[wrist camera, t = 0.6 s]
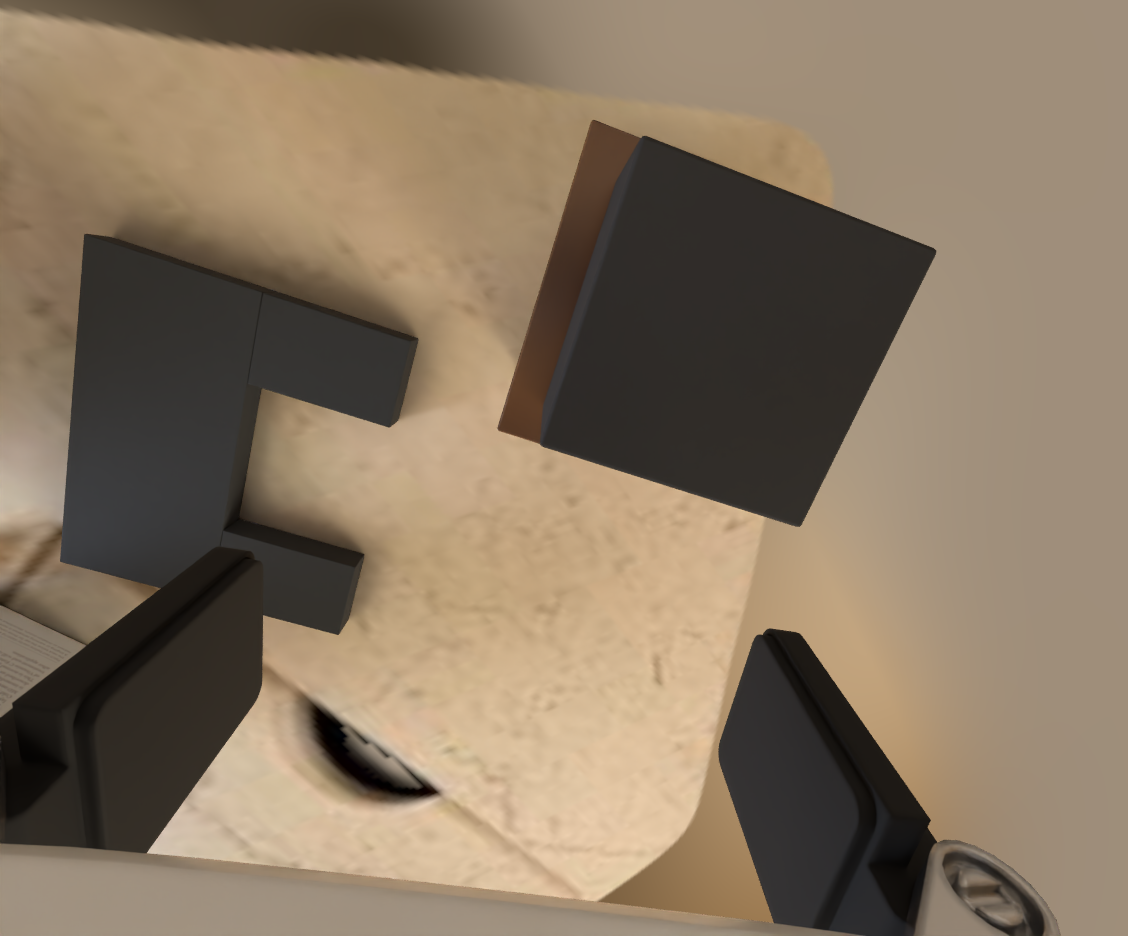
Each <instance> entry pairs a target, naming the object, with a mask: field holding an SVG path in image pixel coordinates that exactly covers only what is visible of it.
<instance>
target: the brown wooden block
mask: <svg viewBox="0 0 1128 936" xmlns="http://www.w3.org/2000/svg"><path fill="white" fill-rule="evenodd" d="M640 139H641V138H639V137H636V136H634V135H631V134H629V133H626V132H624V131H621V130H618V129H616V128H613V127H611V126H608V125H606V124H603V123H601V122H598V121H595V120H592V121H591V124H590V127H589V130H588V133H587V137H586V140H585V143H584V147H583V150H582V153H581V156H580V160H579V163H578V166H577V169H576V173H575V176H574V179H573V183H572V186H571V189H570V192H569V196H568V199H567V202H566V205H565V209H564V212H563V215H562V219H561V222H560V225H559V228H558V232H557V235H556V238H555V241H554V245H553V248H552V251H551V255H550V258H549V261H548V264H547V268H546V271H545V274H544V277H543V281H542V284H541V287H540V291H539V294H538V297H537V300H536V304H535V307H534V310H533V313H532V317H531V320H530V323H529V327H528V330H527V333H526V336H525V340H524V343H523V346H522V349H521V353H520V356H519V359H518V363H517V366H516V369H515V372H514V376H513V379H512V382H511V385H510V389H509V392H508V395H507V399H506V402H505V405H504V408H503V412H502V415H501V418H500V421H499V425H498V430H499V431H501V432H504V433H507V434H511V435H514V436H517V437H520V438H523V439H526V440H530V441H533V442H536V443H539V444H540V435H541V423H542V411H543V404H544V401H545V398H546V395H547V392H548V389H549V386H550V383H551V379H552V376H553V373H554V370H555V367H556V364H557V361H558V358H559V355H560V352H561V349H562V346H563V343H564V340H565V337H566V333H567V330H568V327H569V324H570V321H571V318H572V315H573V312H574V309H575V306H576V303H577V300H578V297H579V294H580V291H581V287H582V284H583V281H584V278H585V275H586V272H587V269H588V266H589V263H590V260H591V257H592V254H593V251H594V248H595V245H596V241H597V238H598V235H599V232H600V229H601V226H602V223H603V220H604V217H605V214H606V211H607V208H608V205H609V202H610V199H611V196H612V192H613V189H614V186H615V183H616V180H617V179H618V177H619V175H620V173H621V172H622V170H623V168H624V166H625V165H626V163H627V161H628V159H629V158H630V156H631V154H632V152H633V151H634V149H635V147H636V145H637V144H638V142H639V140H640Z"/></svg>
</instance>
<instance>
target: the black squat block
mask: <svg viewBox="0 0 1128 936" xmlns="http://www.w3.org/2000/svg"><path fill="white" fill-rule="evenodd" d="M935 255H936V250H935V249H934V248H932V247H929V246H927V245H924V244H921V243H919V242H916V241H914V240H911V239H909V238H906V237H904V236H901V235H898V234H896V233H893V232H891V231H888V230H886V229H883V228H880V227H878V226H875V225H873V224H870V223H868V222H865V221H863V220H860V219H857V218H855V217H852V216H850V215H847V214H845V213H842V212H840V211H837V210H834V209H832V208H829V207H827V206H824V205H822V204H819V203H817V202H814V201H811V200H809V199H806V198H804V197H801V196H799V195H796V194H793V193H791V192H788V191H786V190H783V189H781V188H778V187H776V186H773V185H770V184H768V183H765V182H763V181H760V180H758V179H755V178H752V177H750V176H747V175H745V174H742V173H740V172H737V171H735V170H732V169H729V168H727V167H724V166H722V165H719V164H717V163H714V162H711V161H709V160H706V159H704V158H701V157H699V156H696V155H694V154H691V153H688V152H686V151H683V150H681V149H678V148H676V147H673V146H671V145H668V144H665V143H663V142H660V141H658V140H655V139H653V138H650V137H647V136H642V138H641V139H640V140H639V142H638V144H637V145H636V147H635V149H634V151H633V152H632V154H631V156H630V158H629V159H628V161H627V163H626V165H625V166H624V168H623V170H622V172H621V173H620V175H619V177H618V179H617V180H616V183H615V186H614V189H613V192H612V196H611V199H610V202H609V205H608V208H607V211H606V214H605V217H604V220H603V223H602V226H601V229H600V232H599V235H598V238H597V241H596V245H595V248H594V251H593V254H592V257H591V260H590V263H589V266H588V269H587V272H586V275H585V278H584V281H583V284H582V287H581V291H580V294H579V297H578V300H577V303H576V306H575V309H574V312H573V315H572V318H571V321H570V324H569V327H568V330H567V333H566V337H565V340H564V343H563V346H562V349H561V352H560V355H559V358H558V361H557V364H556V367H555V370H554V373H553V376H552V379H551V383H550V386H549V389H548V392H547V395H546V398H545V401H544V404H543V411H542V423H541V435H540V445H541V446H543V447H545V448H549V449H552V450H555V451H558V452H561V453H564V454H568V455H571V456H574V457H577V458H580V459H583V460H587V461H590V462H593V463H596V464H599V465H602V466H606V467H609V468H612V469H615V470H618V471H622V472H625V473H628V474H631V475H634V476H637V477H641V478H644V479H647V480H650V481H653V482H656V483H660V484H663V485H666V486H669V487H672V488H675V489H679V490H682V491H685V492H688V493H691V494H694V495H698V496H701V497H704V498H707V499H710V500H713V501H717V502H720V503H723V504H726V505H729V506H732V507H736V508H739V509H742V510H745V511H748V512H751V513H755V514H758V515H761V516H764V517H767V518H771V519H774V520H777V521H780V522H783V523H787V524H789V525H793V526H797V527H800V526H801V525H802V522H803V521H804V519H805V517H806V515H807V513H808V510H809V509H810V507H811V505H812V503H813V501H814V498H815V496H816V495H817V493H818V490H819V489H820V487H821V484H822V482H823V480H824V478H825V476H826V474H827V472H828V470H829V468H830V466H831V464H832V462H833V460H834V458H835V456H836V454H837V452H838V450H839V448H840V446H841V444H842V442H843V440H844V438H845V436H846V434H847V432H848V430H849V428H850V426H851V424H852V422H853V420H854V418H855V416H856V414H857V411H858V410H859V408H860V406H861V404H862V402H863V400H864V398H865V396H866V394H867V391H868V390H869V387H870V386H871V383H872V382H873V379H874V378H875V376H876V374H877V372H878V369H879V367H880V366H881V364H882V362H883V360H884V358H885V356H886V353H887V351H888V349H889V347H890V345H891V343H892V341H893V339H894V337H895V335H896V333H897V331H898V329H899V327H900V325H901V323H902V321H903V319H904V317H905V315H906V313H907V311H908V309H909V307H910V305H911V303H912V301H913V299H914V297H915V295H916V293H917V291H918V289H919V287H920V285H921V283H922V281H923V279H924V277H925V275H926V273H927V271H928V269H929V267H930V265H931V263H932V261H933V259H934V257H935Z"/></svg>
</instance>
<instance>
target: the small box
mask: <svg viewBox="0 0 1128 936" xmlns="http://www.w3.org/2000/svg"><path fill="white" fill-rule="evenodd" d="M85 646H86V645H84V644H82V643H80V642H78V641H75V640H73V639H71V638H69V637H67V636H65V635H63V634H60V633H58V632H56V631H54V630H52V629H50V628H47V627H45V626H43V625H41V624H39V623H37V622H35V621H33V620H31V619H29V618H27V617H25V616H23V615H21V614H18V613H16V612H14V611H12V610H10V609H8V608H6V607H3V606H1V605H0V717H2V716H3V715H4V714H5V713H7V712H8V711H9V710H11V709H12V708H13V707H12V703H13V702H14V701H15V700H16V699H18V698H19V697H20V696H22V695H23V694H24V693H26V692H27V691H28V690H30V689H31V688H32V687H33V686H35V685H36V684H37V683H39V682H40V681H41V680H43V679H44V678H45V677H46V676H48V675H49V674H50V673H52V672H53V671H54V670H56V669H57V668H58V667H59V666H61V665H62V664H63V663H65V662H66V661H67V660H69V659H70V658H71V657H72V656H74V655H75V654H76V653H78V652H79V651H80V650H82V649H83V648H84V647H85Z"/></svg>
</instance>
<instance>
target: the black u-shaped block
mask: <svg viewBox="0 0 1128 936" xmlns="http://www.w3.org/2000/svg"><path fill="white" fill-rule="evenodd" d="M417 344H418V338H416V337H412V336H409V335H406V334H403V333H400V332H397V331H394V330H391V329H388V328H385V327H382V326H379V325H376V324H373V323H370V322H367V321H364V320H361V319H358V318H355V317H352V316H349V315H346V314H343V313H340V312H337V311H334V310H331V309H328V308H325V307H322V306H319V305H315V304H312V303H309V302H306V301H303V300H300V299H297V298H294V297H291V296H288V295H285V294H282V293H278V292H276V291H273V290H270V289H267V288H264V287H261V286H258V285H255V284H252V283H249V282H246V281H243V280H240V279H237V278H234V277H231V276H228V275H225V274H222V273H219V272H216V271H213V270H210V269H206V268H203V267H200V266H197V265H194V264H191V263H188V262H185V261H182V260H179V259H176V258H173V257H170V256H167V255H164V254H161V253H158V252H155V251H152V250H149V249H146V248H143V247H140V246H137V245H134V244H131V243H128V242H125V241H122V240H119V239H116V238H112V237H107V236H99V235H91V234H85V235H84V246H83V260H82V273H81V287H80V300H79V314H78V327H77V341H76V354H75V368H74V381H73V395H72V408H71V422H70V435H69V449H68V462H67V476H66V489H65V503H64V516H63V530H62V543H61V557H60V562H63V563H67V564H71V565H75V566H79V567H82V568H86V569H90V570H94V571H98V572H101V573H105V574H109V575H113V576H116V577H120V578H124V579H128V580H132V581H135V582H139V583H143V584H147V585H151V586H154V587H158V588H162V587H164V586H165V585H166V584H167V583H169V582H170V581H171V580H173V579H174V578H175V577H177V576H178V575H179V574H180V573H182V572H183V571H184V570H186V569H187V568H188V567H190V566H191V565H192V564H193V563H195V562H196V561H197V560H199V559H200V558H201V557H203V556H204V555H205V554H207V553H208V552H209V551H210V550H212V549H213V548H215V547H227V548H233V549H240V550H247V551H251V552H252V553H253V554H254V557H255V560H259V561H261V562H262V564H263V615H264V616H268V617H272V618H276V619H280V620H283V621H287V622H291V623H295V624H299V625H302V626H306V627H310V628H314V629H318V630H321V631H325V632H329V633H333V634H337V635H339V634H340V632H341V630H342V629H343V627H344V626H345V624H346V622H347V621H348V619H349V615H350V611H351V607H352V603H353V599H354V595H355V591H356V587H357V583H358V579H359V575H360V571H361V567H362V563H363V559H364V554H361V553H358V552H354V551H351V550H347V549H344V548H340V547H337V546H333V545H330V544H326V543H322V542H319V541H315V540H312V539H308V538H305V537H301V536H298V535H294V534H291V533H287V532H283V531H280V530H276V529H273V528H269V527H266V526H262V525H259V524H255V523H251V522H248V521H244V520H241V519H239V514H240V508H241V502H242V496H243V491H244V485H245V479H246V473H247V468H248V462H249V456H250V450H251V445H252V439H253V433H254V427H255V422H256V416H257V410H258V404H259V399H260V393H261V388H263V389H266V390H270V391H273V392H276V393H279V394H283V395H286V396H289V397H292V398H296V399H299V400H302V401H305V402H308V403H312V404H315V405H318V406H321V407H325V408H328V409H331V410H334V411H338V412H341V413H344V414H347V415H350V416H354V417H357V418H360V419H363V420H367V421H370V422H373V423H376V424H380V425H383V426H386V427H391V426H392V425H393V424H395V423H396V422H397V421H398V419H399V415H400V411H401V407H402V404H403V400H404V396H405V392H406V388H407V384H408V380H409V376H410V372H411V368H412V364H413V360H414V356H415V352H416V348H417ZM238 519H239V520H238Z"/></svg>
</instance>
